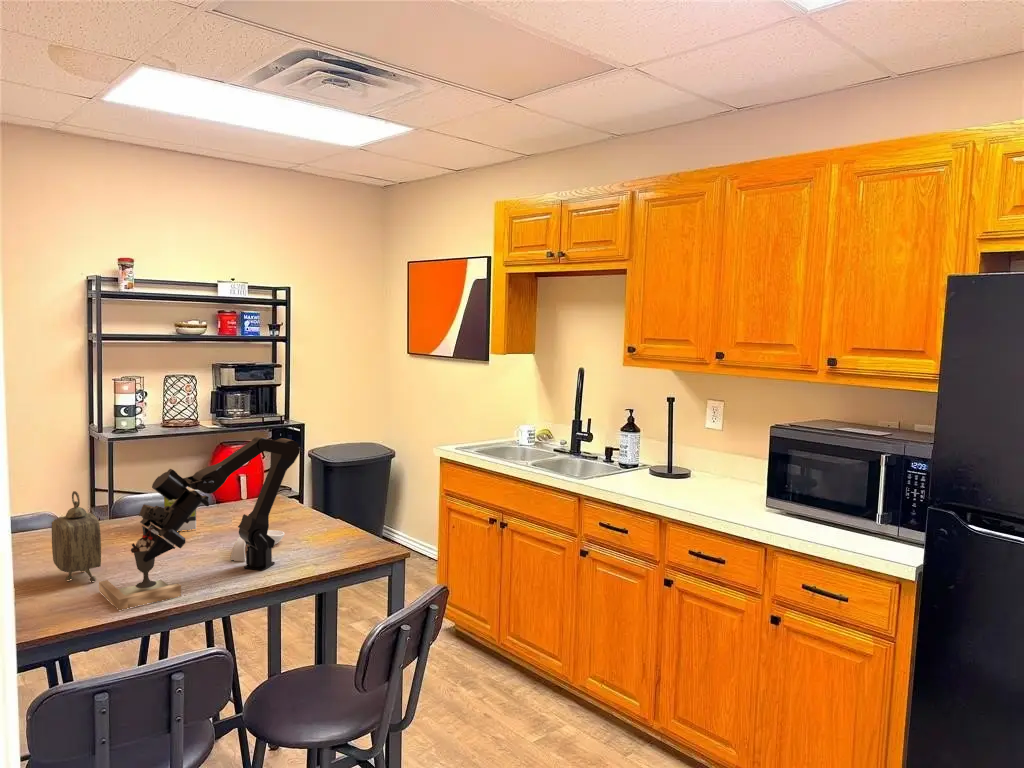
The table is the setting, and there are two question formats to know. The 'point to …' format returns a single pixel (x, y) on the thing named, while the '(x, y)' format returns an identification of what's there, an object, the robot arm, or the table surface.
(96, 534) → the tabletop clock
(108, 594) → the corner tray
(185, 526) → the tea box
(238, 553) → the spoon rest
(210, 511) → the table surface
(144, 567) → the sundae
